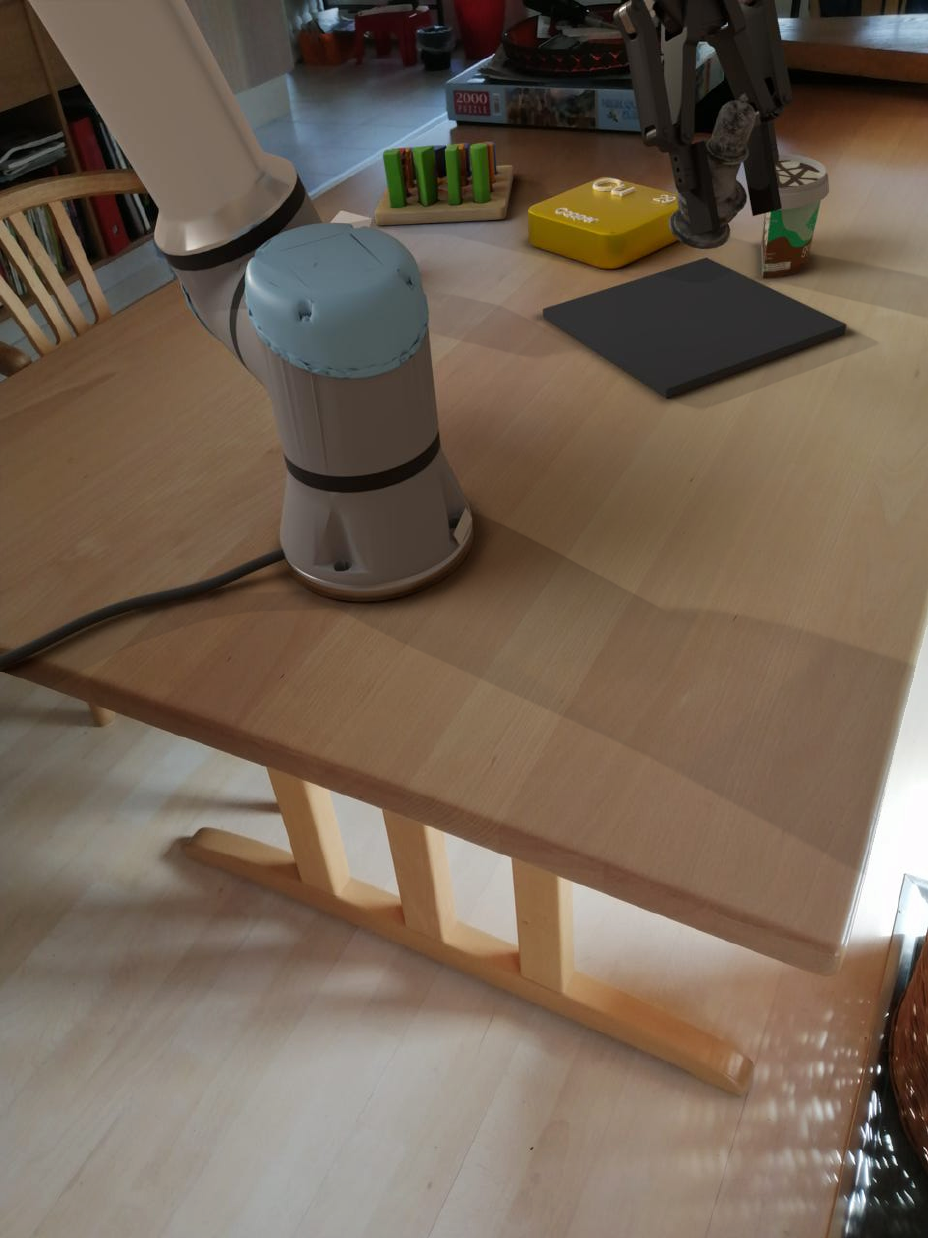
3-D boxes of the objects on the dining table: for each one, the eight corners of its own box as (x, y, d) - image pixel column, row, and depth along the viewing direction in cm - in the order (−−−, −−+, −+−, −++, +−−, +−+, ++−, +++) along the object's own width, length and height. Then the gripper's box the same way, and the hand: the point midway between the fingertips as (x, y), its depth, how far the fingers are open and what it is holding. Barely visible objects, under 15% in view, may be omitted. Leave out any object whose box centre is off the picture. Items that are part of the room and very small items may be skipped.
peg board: (514, 176, 144) (511, 111, 139) (505, 220, 131) (501, 151, 126) (395, 182, 147) (387, 119, 141) (374, 226, 134) (365, 158, 128)
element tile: (521, 243, 125) (520, 204, 122) (603, 208, 132) (604, 170, 129) (611, 273, 116) (612, 231, 113) (694, 233, 123) (697, 193, 120)
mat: (666, 398, 94) (666, 389, 93) (542, 317, 109) (542, 308, 108) (845, 333, 100) (846, 324, 100) (705, 265, 116) (706, 256, 115)
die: (411, 288, 119) (390, 204, 118) (375, 278, 111) (352, 188, 110) (351, 311, 123) (330, 229, 122) (312, 303, 115) (289, 216, 114)
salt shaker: (744, 224, 86) (796, 90, 75) (714, 261, 83) (764, 127, 73) (684, 195, 87) (727, 60, 77) (653, 230, 84) (692, 95, 74)
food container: (821, 283, 109) (836, 189, 103) (762, 283, 111) (773, 189, 104) (814, 240, 118) (828, 151, 112) (760, 240, 120) (771, 152, 113)
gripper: (744, -104, 79) (794, 201, 87) (545, -64, 74) (617, 258, 81) (811, -150, 73) (858, 185, 80) (597, -111, 67) (670, 245, 74)
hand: (737, 221), depth 81 cm, fingers closed on salt shaker, 5 cm apart
